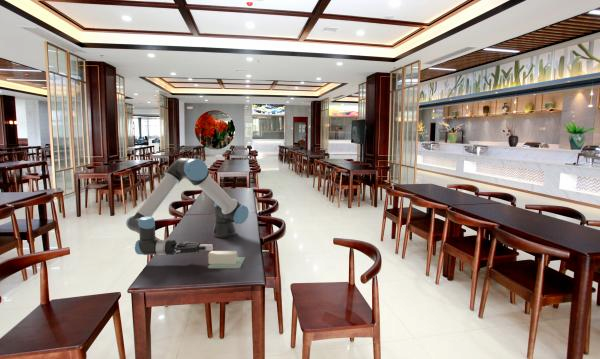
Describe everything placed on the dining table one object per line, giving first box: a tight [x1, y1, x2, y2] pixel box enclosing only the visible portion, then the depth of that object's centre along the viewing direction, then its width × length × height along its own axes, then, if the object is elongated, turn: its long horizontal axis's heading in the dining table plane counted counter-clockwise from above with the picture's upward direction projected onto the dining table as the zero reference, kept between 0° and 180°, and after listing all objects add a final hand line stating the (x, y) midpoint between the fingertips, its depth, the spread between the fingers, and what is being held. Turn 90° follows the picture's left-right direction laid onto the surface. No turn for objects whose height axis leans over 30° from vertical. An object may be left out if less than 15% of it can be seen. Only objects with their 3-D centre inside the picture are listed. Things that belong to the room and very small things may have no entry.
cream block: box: [207, 250, 238, 265], centre depth 179 cm, size 5×5×14 cm
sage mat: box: [207, 256, 246, 269], centre depth 179 cm, size 14×16×1 cm
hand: (212, 247), depth 178 cm, fingers closed
